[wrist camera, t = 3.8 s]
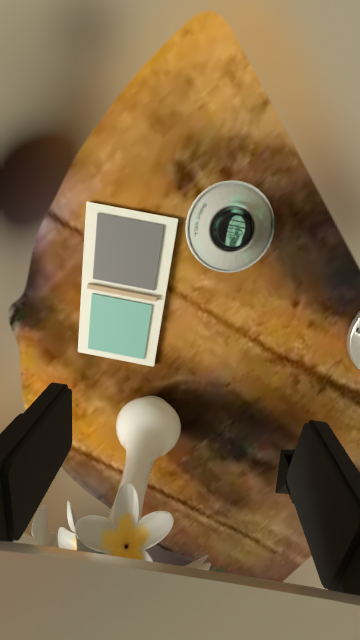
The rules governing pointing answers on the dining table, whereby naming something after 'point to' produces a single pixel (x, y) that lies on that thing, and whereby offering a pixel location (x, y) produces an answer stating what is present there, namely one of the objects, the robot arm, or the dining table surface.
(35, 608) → the robot arm
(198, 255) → the spray can
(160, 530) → the flower vase
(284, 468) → the black angular piece
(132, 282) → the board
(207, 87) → the dining table surface
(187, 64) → the dining table surface
